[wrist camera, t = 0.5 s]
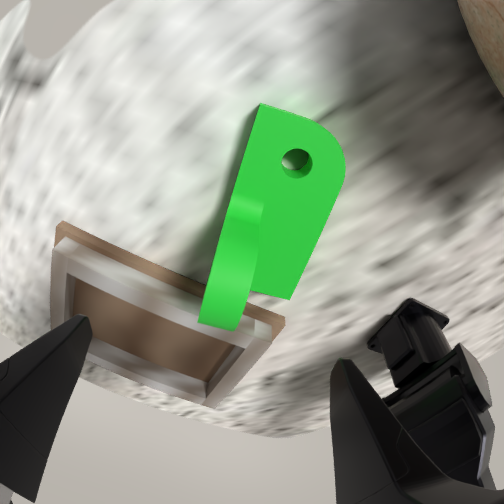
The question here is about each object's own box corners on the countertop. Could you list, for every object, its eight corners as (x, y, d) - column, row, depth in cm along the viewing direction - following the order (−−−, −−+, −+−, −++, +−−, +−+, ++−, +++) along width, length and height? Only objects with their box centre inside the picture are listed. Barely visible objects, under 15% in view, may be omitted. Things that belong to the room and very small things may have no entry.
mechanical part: (287, 283, 24) (295, 365, 17) (212, 263, 23) (192, 342, 16) (351, 135, 18) (403, 169, 11) (260, 102, 17) (258, 114, 10)
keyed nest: (284, 317, 25) (286, 343, 23) (224, 390, 31) (221, 413, 29) (62, 220, 21) (42, 238, 18) (56, 320, 27) (44, 340, 25)
